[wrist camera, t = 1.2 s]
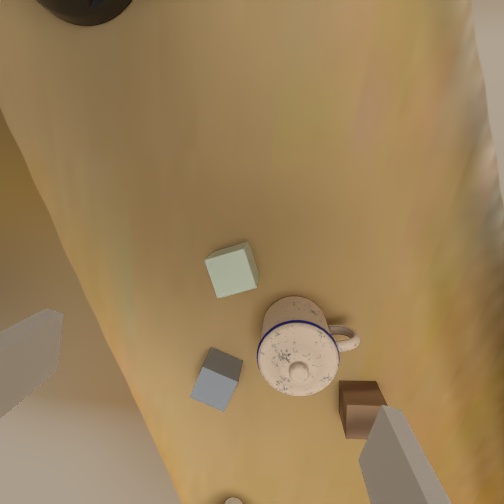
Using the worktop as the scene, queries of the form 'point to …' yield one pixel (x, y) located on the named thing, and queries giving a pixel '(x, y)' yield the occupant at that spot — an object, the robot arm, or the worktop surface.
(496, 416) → the worktop surface
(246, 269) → the sage block
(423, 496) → the robot arm
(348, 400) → the walnut block
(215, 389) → the slate block
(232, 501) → the pale grey tall piece
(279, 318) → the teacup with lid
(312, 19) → the worktop surface
